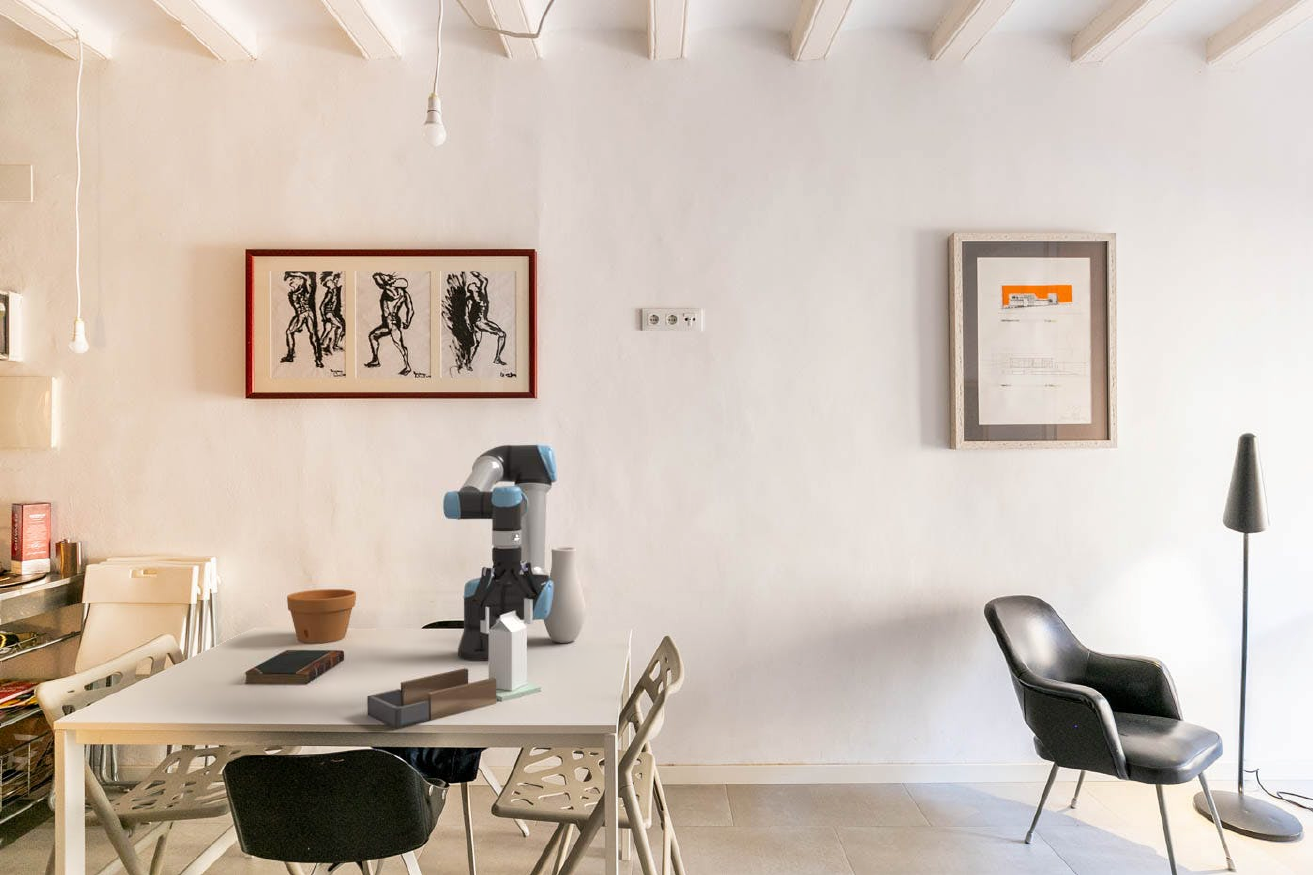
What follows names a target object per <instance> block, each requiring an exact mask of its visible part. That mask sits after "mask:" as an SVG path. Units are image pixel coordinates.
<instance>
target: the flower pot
mask: <svg viewBox="0 0 1313 875" xmlns="http://www.w3.org/2000/svg"><path fill="white" fill-rule="evenodd" d="M356 601H357V592H356V591H355V590H351V589H339V588H335V589H334V588H333V589H331V588H328V589H327V588H326V589H324V588H323V589H311V590H303V591H297V592H293V593H290V594H288V595H287V596H286V602H287V610H288V611H289V612H290V614H291V619H292V622H293V626H294V631H295V634H296V639H297V641H298V642H300V643H303V644H325V643H332V642H337V641H340V640H343V639H345V637H346V634H347V632H348V627H349V624H350V618H351V614H352V611H353V608H354V607H355V605H356Z"/></svg>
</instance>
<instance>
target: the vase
mask: <svg viewBox="0 0 1313 875" xmlns="http://www.w3.org/2000/svg"><path fill="white" fill-rule="evenodd" d="M550 551H551V568H550V573H549V580H551V581H553V583H554V589H553V590H554V592H553V600H552V605H551V609H550V613H549V615H548V617H547V618H545V619H542V620H543V623H544V627H545V629H546V632H547V635H548V636H549V638H551V640H553V642H555V643H558V644H567V643H571V642H574V641H575V640H576V639H577V638H578V636H579V635H580V633H581V632H582V629H583V625H584V621H585V616H586V600H585V596H584V591H583V589H582V585H581V581H580V576H579V573H578V567H577V548H575V547H569V546H568V547H567V546H564V547H561V546H560V547H554V548H553V547H552V548H551V550H550Z"/></svg>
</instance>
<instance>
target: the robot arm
mask: <svg viewBox="0 0 1313 875" xmlns="http://www.w3.org/2000/svg"><path fill="white" fill-rule="evenodd" d="M557 472H558V471H557V464H556V459H555V452H554V449H553V448H552V447H551V446H549V445H543V444H519V445H517V444H516V445H514V444H513V445H512V444H504V445H500V446H495V447H493V448H491V449H488V450H487V451H484V452H483V453H482V454H481V455H479V456H478V457H477V458H476V459H475V460H474V462H473V464H472V468H471V473H470V474H469V475H468V477H467V479H466V480H465V482H464V483H463V484H462V487H460V489H459V490H458V491H457V490H454V491H453V490H452V491H447V492H446V493H445V494H444V497H443V503H442V504H443V505H442V506H443V507H442V508H443V515H444V516H445V518H446V519H448V520H457V521H459V520H460V521H461V520H491V524H492V525H491V526H492V527H491V545H492V546H493V547H492V548H491V558H492V559H491V561H492V564H493V565H492V567H485V566H483V567H482V568H481V575H480V577H477V578H473V579H471V580H468V581H467V582H466V583H465V584H464V592H463V632H462V635H461V639H460V641H459V645H458V648H457V656H458V657H459V658H460V659H464V660H467V661H468V660H469V661H489V629H490V628H491V627H492V626H494V625H495V624H496V623H497V622H496V620H497V619H498V618H500V615H503V614H506V613H509V612H512V611H516V616H517V617H518V618H519V619H520V620H521V621H523V623H524V624H525V625H533V624H534V621H537V620H538V621H539V620H543V619H545V618H547V617H548V615H549V613H550V609H551V605H552V600H553V592H554V590H553V589H554V583H553V581H551V580H549V577H550V573H548V572H547V571H546V569H545V555H546V551H545V550H546V524H547V523H546V521H547V520H546V519H547V516H546V514H547V493H548V492H550V490H552V486H553V485H552V484H553V483H555V482H557V481H558V480H557V479H558V478H557V477H558V474H557ZM500 482H501V483H503V482H504V483H514V486H513V485H510V486H509V485H507V486H505V485H504V486H503V485H502V486H501V485H500V486H496V487H494V485H497V484H498V483H500ZM493 487H494V488H493Z"/></svg>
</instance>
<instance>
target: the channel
mask: <svg viewBox="0 0 1313 875" xmlns="http://www.w3.org/2000/svg"><path fill="white" fill-rule="evenodd" d="M400 690H401V706H407V705H411V704H415V703H419V702H423V701H429V721H434V720H438V719H443V718H446V717H450V716H453V715H458V714H461V713H464V712H465V713H466V712H468V711H469V712H470V711H472V710H476V709H480V708H481V709H482V708H485V707H488V706H491V705H495V704H497V699H496V679H495V678H490V679H489V678H486V679H482V680H478V681H474V682H470V683H469V669H468V668H465V667H464V668H461V669H455V670H451V671H447V672H442V673H437V674H433V675H428V676H425V677H419V678H415V679H411V680H406V681H401V682H400Z"/></svg>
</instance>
